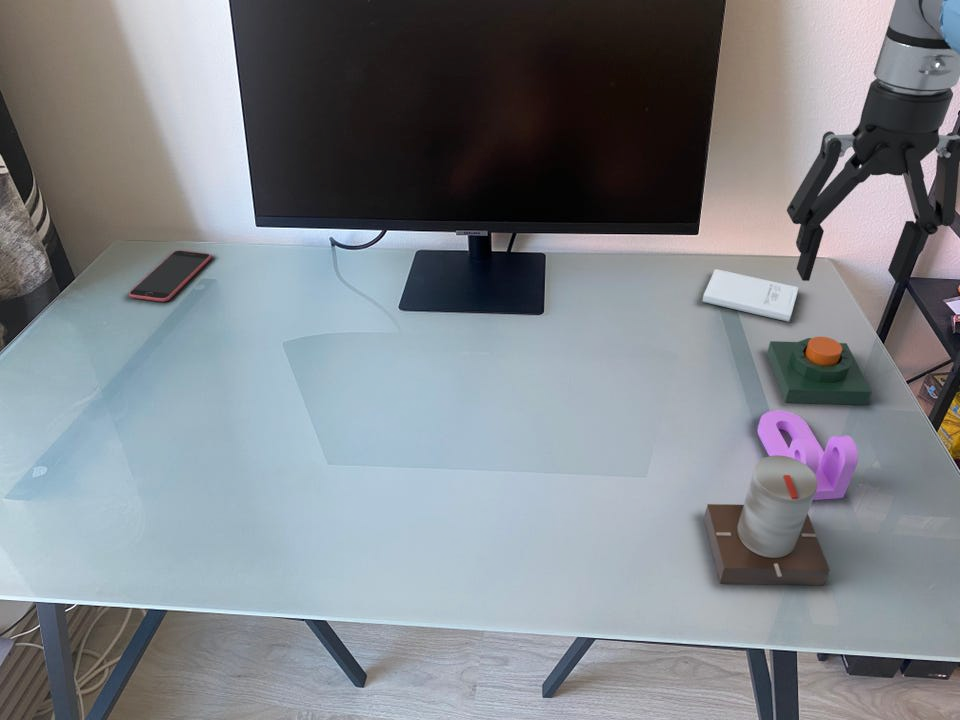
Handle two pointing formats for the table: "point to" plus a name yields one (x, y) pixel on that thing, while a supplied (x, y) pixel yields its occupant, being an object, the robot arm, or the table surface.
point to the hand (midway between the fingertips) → (848, 275)
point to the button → (823, 351)
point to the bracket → (811, 452)
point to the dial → (776, 505)
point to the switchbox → (817, 376)
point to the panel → (755, 569)
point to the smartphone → (170, 276)
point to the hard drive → (751, 295)
